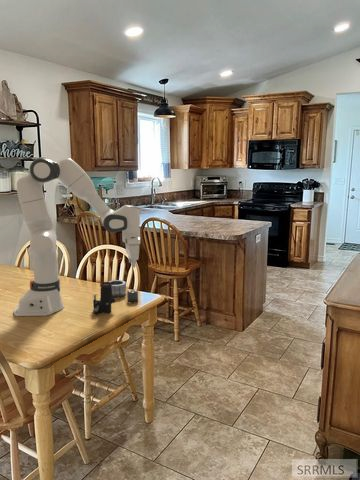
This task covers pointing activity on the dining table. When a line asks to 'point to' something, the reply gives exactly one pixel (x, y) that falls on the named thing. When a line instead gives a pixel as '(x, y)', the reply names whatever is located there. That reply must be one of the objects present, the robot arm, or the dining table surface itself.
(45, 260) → the robot arm
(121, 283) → the grey short cylinder
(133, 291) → the cap
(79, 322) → the dining table surface
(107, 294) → the scope
